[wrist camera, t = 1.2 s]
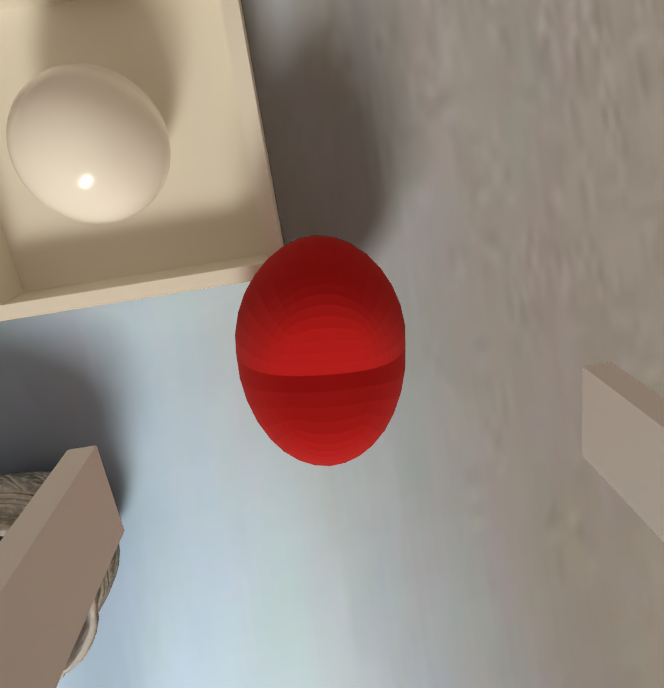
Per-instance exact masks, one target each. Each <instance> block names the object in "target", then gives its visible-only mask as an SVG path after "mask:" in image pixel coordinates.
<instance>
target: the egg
mask: <svg viewBox="0 0 664 688" xmlns="http://www.w3.org/2000/svg"><path fill="white" fill-rule="evenodd" d="M6 141H7V148H8V152H9V156H10V159H11V162H12V164H13V167H14V169H15V171H16V173H17V175H18V177H19V178H20V180H21V181H22V183H23V184H24V186H25V187H26V188H27V189H28V190H29V191H30V193H31V194H32V195H33V196H34V197H36V198H37V199H38V200H39V201H40V202H41V203H43V204H44V205H45V206H47V207H48V208H49V209H51V210H53V211H55V212H56V213H58V214H60V215H62V216H65V217H67V218H70V219H73V220H76V221H80V222H86V223H95V224H104V223H113V222H117V221H121V220H125V219H127V218H130V217H132V216H134V215H136V214H138V213H139V212H141V211H142V210H143V209H145V208H146V207H147V206H149V205H150V204H151V203H152V201H153V200H154V199H155V198H156V197H157V196H158V194H159V193H160V191H161V190H162V188H163V186H164V184H165V181H166V179H167V176H168V172H169V168H170V160H171V147H170V140H169V135H168V131H167V128H166V125H165V122H164V120H163V118H162V116H161V114H160V112H159V110H158V109H157V107H156V105H155V104H154V103H153V101H152V100H151V99H150V97H149V96H148V95H147V94H146V93H145V92H144V91H143V90H142V89H141V88H140V87H138V86H137V85H136V84H135V83H134V82H132V81H131V80H129V79H128V78H126V77H125V76H123V75H122V74H119V73H117V72H115V71H113V70H111V69H108V68H105V67H102V66H98V65H93V64H87V63H69V64H63V65H58V66H54V67H51V68H49V69H46V70H44V71H42V72H40V73H39V74H37V75H35V76H34V77H33V78H32V79H30V80H29V81H28V82H27V83H26V84H25V85H24V86H23V88H22V89H21V90H20V91H19V92H18V94H17V96H16V97H15V99H14V101H13V103H12V105H11V107H10V110H9V114H8V118H7V125H6Z"/></svg>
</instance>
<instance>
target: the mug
mask: <svg viewBox="0 0 664 688" xmlns="http://www.w3.org/2000/svg"><path fill="white" fill-rule="evenodd" d="M50 473H51V472H43V471H35V472H25V473H21V472H20V473H12V474H5V475H3V476H0V541H1V540H2V538H3V537H4V536H5V534H6V533H7V532H8V530H9V529H10V527H11V526H12V525H13V523H14V522H15V521H16V519H17V518H18V517H19V515H20V514H21V513H22V511H23V510H24V508H25V507H26V506H27V504H28V503H29V502H30V500H31V499H32V498H33V496H34V495H35V494H36V492H37V491H38V489H39V488H40V487H41V485H42V484H43V483H44V481H45V480H46V479H47V477H48V476H49V474H50ZM119 555H120V549H119V544H118V546H117V548H116V551H115V553H114V555H113V558H112V560H111V562H110V565H109V567H108V569H107V571H106V574H105V576H104V578H103V581H102V583H101V585H100V588H99V590H98V592H97V594H96V597H95V599H94V601H93V604H92V606H91V608H90V611H89V613H88V615H87V618H86V620H85V622H84V624H83V627H82V629H81V631H80V634H79V636H78V638H77V641H76V643H75V645H74V647H73V650H72V652H71V654H70V657H69V659H68V661H67V664H66V666H65V668H64V670H63V673H62V675H61V677H60V679H61V678H62V677H64V675H65V673H67V672H69V671H70V670H71V669H72V668H74V667H75V666H76V665H77V664H78V663H80V662H81V661H82V660H83V658H84V657H85V656H86V654H87V652H88V651H89V649H90V647H91V645H92V643H93V641H94V638H95V635H96V633H97V627H98V620H99V614H98V612H99V611H100V609H101V607H102V605H103V604H104V602H105V600H106V598H107V596H108V594H109V592H110V589H111V587H112V584H113V582H114V580H115V577H116V574H117V570H118V566H119Z"/></svg>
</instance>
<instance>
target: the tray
mask: <svg viewBox="0 0 664 688" xmlns="http://www.w3.org/2000/svg"><path fill="white" fill-rule="evenodd" d="M69 63H87V64H93V65H98V66H102V67H105V68H108V69H111V70H113V71H115V72H117V73H119V74H122V75H123V76H125V77H126V78H128V79H129V80H131V81H132V82H134V83H135V84H136V85H137V86H138V87H140V88H141V89H142V90H143V91H144V92H145V93H146V94H147V95H148V96H149V97H150V99H151V100H152V101H153V103H154V104H155V105H156V107H157V109H158V110H159V112H160V114H161V116H162V118H163V120H164V122H165V125H166V128H167V131H168V135H169V140H170V147H171V160H170V168H169V172H168V176H167V179H166V181H165V184H164V186H163V188H162V190H161V191H160V193H159V194H158V196H157V197H156V198H155V199H154V200H153V201H152V203H151V204H150V205H149V206H147V207H146V208H145V209H143V210H142V211H141V212H139V213H138V214H136V215H134V216H132V217H130V218H127V219H125V220H121V221H117V222H113V223H104V224H95V223H86V222H80V221H76V220H73V219H70V218H67V217H65V216H62V215H60V214H58V213H56V212H55V211H53V210H51V209H49V208H48V207H47V206H45V205H44V204H43V203H41V202H40V201H39V200H38V199H37V198H36V197H34V196H33V195H32V194H31V193H30V191H29V190H28V189H27V188H26V187H25V186H24V184H23V183H22V181H21V180H20V178H19V177H18V175H17V173H16V171H15V169H14V167H13V164H12V162H11V159H10V156H9V152H8V148H7V141H6V125H7V118H8V114H9V110H10V107H11V105H12V103H13V101H14V99H15V97H16V96H17V94H18V92H19V91H20V90H21V89H22V88H23V86H24V85H25V84H26V83H27V82H28V81H29V80H30V79H32V78H33V77H34V76H35V75H37V74H39V73H40V72H42V71H44V70H46V69H49V68H51V67H54V66H58V65H63V64H69ZM283 246H284V244H283V239H282V233H281V227H280V221H279V216H278V210H277V204H276V199H275V193H274V187H273V181H272V176H271V170H270V164H269V159H268V153H267V147H266V141H265V136H264V130H263V124H262V119H261V113H260V107H259V102H258V96H257V90H256V84H255V79H254V73H253V67H252V62H251V56H250V50H249V44H248V39H247V33H246V27H245V22H244V16H243V10H242V4H241V0H0V321H6V320H12V319H18V318H24V317H31V316H37V315H43V314H49V313H56V312H62V311H68V310H74V309H80V308H87V307H93V306H99V305H105V304H112V303H118V302H124V301H130V300H136V299H143V298H149V297H155V296H161V295H168V294H174V293H180V292H186V291H192V290H199V289H205V288H211V287H217V286H224V285H230V284H236V283H242V282H248V281H251V280H252V279H253V277H254V275H255V274H256V272H257V271H258V270H259V269H260V267H261V266H262V265H263V264H264V262H265V261H266V260H267V259H268V258H269V257H270V256H272V255H273V254H274V253H275V252H276V251H278V250H279V249H280V248H281V247H283Z"/></svg>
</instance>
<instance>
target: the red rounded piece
mask: <svg viewBox="0 0 664 688" xmlns="http://www.w3.org/2000/svg"><path fill="white" fill-rule="evenodd" d="M235 340H236V355H237V361H238V368H239V375H240V380H241V383H242V386H243V389H244V392H245V396H246V399H247V401H248V403H249V405H250V407H251V409H252V411H253V413H254V415H255V417H256V419H257V421H258V423H259V424H260V425H261V427H262V428H263V430H264V431H265V432H266V434H267V435H268V436H269V438H270V439H271V440H272V441H273V442H274V443H275V444H276V445H278V446H279V447H280V448H281V449H282V450H283V451H284V452H286V453H288V454H289V455H291V456H293V457H294V458H296V459H298V460H300V461H303V462H306V463H310V464H313V465H322V466H332V465H337V464H342V463H346V462H348V461H350V460H352V459H354V458H356V457H358V456H360V455H361V454H362V453H364V452H365V451H366V450H367V449H369V448H370V447H371V446H372V445H373V444H374V443H375V442H376V440H377V439H378V438H379V437H380V436H381V434H382V433H383V432H384V431H385V429H386V427H387V425H388V423H389V421H390V419H391V418H392V416H393V414H394V411H395V408H396V405H397V402H398V399H399V396H400V393H401V390H402V384H403V378H404V372H405V324H404V319H403V315H402V310H401V306H400V303H399V301H398V298H397V296H396V293H395V291H394V289H393V286H392V285H391V283H390V282H389V280H388V279H387V277H386V276H385V274H384V273H383V271H382V270H381V268H380V267H379V266H378V265H377V264H376V263H375V262H374V261H373V260H372V259H371V258H370V257H369V256H368V255H367V254H366V253H364V252H363V251H361V250H360V249H358V248H357V247H355V246H354V245H352V244H351V243H348V242H346V241H343V240H340V239H338V238H335V237H330V236H319V235H314V236H309V237H304V238H300V239H297V240H295V241H293V242H291V243H289V244H287V245H285V246H283V247H281V248H280V249H279V250H278V251H276V252H275V253H274V254H273V255H272V256H270V257H269V258H268V259H267V260H266V261H265V262H264V264H263V265H262V266H261V267H260V269H259V270H258V271H257V272H256V274H255V275H254V277H253V279H252V280H251V282H250V284H249V286H248V288H247V290H246V292H245V294H244V296H243V299H242V303H241V306H240V309H239V312H238V318H237V325H236V332H235Z"/></svg>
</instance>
